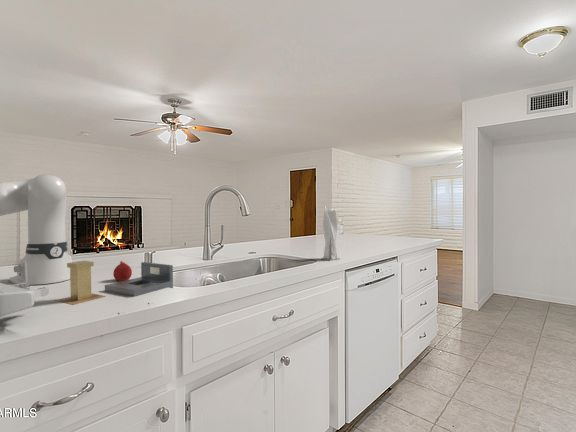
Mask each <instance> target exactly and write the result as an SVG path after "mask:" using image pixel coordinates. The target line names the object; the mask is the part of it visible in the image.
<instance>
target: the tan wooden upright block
mask: <svg viewBox="0 0 576 432" xmlns="http://www.w3.org/2000/svg"><path fill="white" fill-rule="evenodd" d="M94 263H95V262H94V261H90V260H89V261H88V260H80V261H72V262H71V263H67V267H68V268H70V279H69V280H70V281H69V282H70V283H69V284H70V286H69V287H70V297H71V299H72V300H77V301H79V300H83V299H87V298H91V293H92V267H94Z"/></svg>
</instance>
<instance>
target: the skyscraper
mask: <svg viewBox="0 0 576 432" xmlns="http://www.w3.org/2000/svg"><path fill="white" fill-rule="evenodd" d="M323 213H324V214H323V221H322V222H323V223H322V224H323V225H322V229H323V238H324V242H325V244H324V250H323V257H321V258H320V260H323V259H324V261H330V260H333V261H338V260H341V258H339V257H338V253H337V252H338V251H337V246H336V244H337V243H336V239H337V235H338V225H339V223H338V213H337V209H336V208H334V209H333V208H327V206H326V205H324V212H323ZM337 259H338V260H337Z"/></svg>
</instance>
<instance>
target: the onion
mask: <svg viewBox="0 0 576 432" xmlns="http://www.w3.org/2000/svg"><path fill="white" fill-rule="evenodd" d="M132 270H133V269H132V268H131V266H129V265H128V263H126V262H124V261H123V260H121V261H119V264H118V265H116V266H115V268H114V270H113V273H112V274H113V278H114V279H115V280H116V281H117V282H121V281H126V280H130V279H131V277H132V275H133V271H132Z"/></svg>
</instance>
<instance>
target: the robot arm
mask: <svg viewBox="0 0 576 432" xmlns="http://www.w3.org/2000/svg"><path fill="white" fill-rule="evenodd" d="M67 193H68V189H67V185H66V183H65V182H64V180H63V179H62V178H60V177H59V176H57V175H53V174H50V173H43V174H39V175H36V176H35V177H33V178H32V177H31V178H27V179H20V180H11V181H4V182H3V181H2V182H0V217H2V216H7V215H10V214H11V215H12V214H16V213H21V212H26V211H27V235H28V237H27V243H26V247H25V255H24V257H23V258H22V259H21V260H20V261H19V262H18V264H17V265H15V266H13V272H14V273H17V274H16V275H15V276H10V277H9V278H8V281H9V282H11V283H12V284H6V283H2V282H0V317H3V316H6V315H11V314H14V313H18V312H21V311H25V310H28V309H29V308H31V307H34V305H35V300H37V299H39V298H40V297H45V296H48V295H50V294H49V293H50V291H49V290H50V289H49V287H44V286H43V287H39V288H37V289H33V290H31V287H30V286H32V285H33V286H34V285H45V284H54V283H61V282H65V281H69V280H70V268H68V267H67V263H71V262H73V261H72V256H71V254H68V247H69V246H68V241H67V236H66V235H67V232H66V230H67V229H66V221H67V220H66V218H67V197H68V195H67Z"/></svg>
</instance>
